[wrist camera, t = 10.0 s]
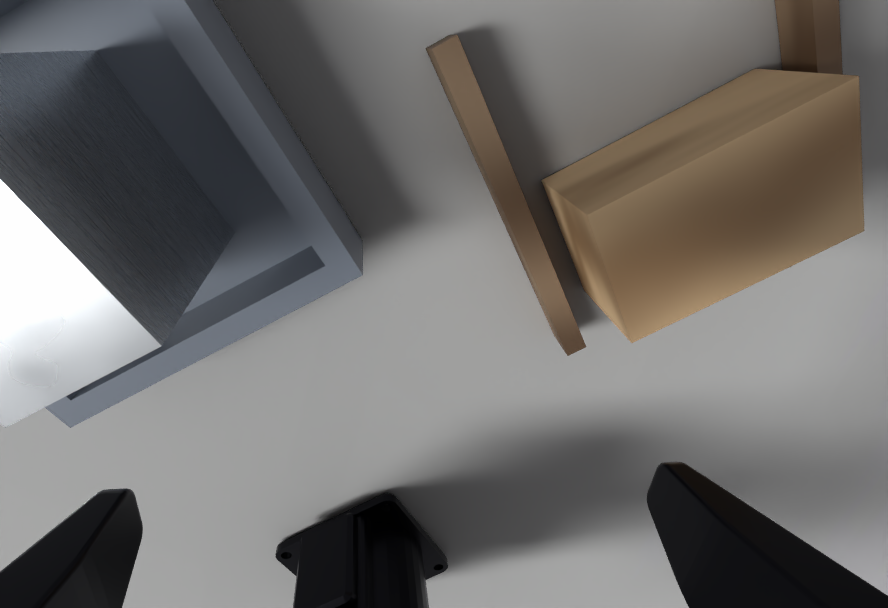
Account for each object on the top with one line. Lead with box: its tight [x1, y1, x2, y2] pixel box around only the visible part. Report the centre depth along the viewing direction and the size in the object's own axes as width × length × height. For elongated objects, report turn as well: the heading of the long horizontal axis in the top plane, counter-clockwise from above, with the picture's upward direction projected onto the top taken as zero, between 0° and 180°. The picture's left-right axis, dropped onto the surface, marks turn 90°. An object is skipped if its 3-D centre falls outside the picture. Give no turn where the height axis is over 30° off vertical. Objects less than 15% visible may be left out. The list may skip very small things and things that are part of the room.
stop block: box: [0, 50, 235, 428], centre depth 12 cm, size 6×4×7 cm, turn 26°
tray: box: [0, 0, 363, 428], centre depth 14 cm, size 11×11×3 cm
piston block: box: [542, 69, 864, 343], centre depth 17 cm, size 5×8×4 cm, turn 116°
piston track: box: [426, 0, 843, 356], centre depth 16 cm, size 17×13×2 cm
